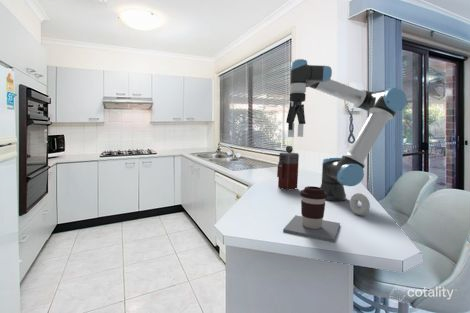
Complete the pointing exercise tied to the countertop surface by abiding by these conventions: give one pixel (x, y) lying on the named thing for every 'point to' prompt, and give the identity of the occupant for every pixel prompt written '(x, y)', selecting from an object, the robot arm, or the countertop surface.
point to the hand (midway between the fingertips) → (295, 136)
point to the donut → (364, 202)
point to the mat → (323, 233)
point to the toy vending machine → (288, 169)
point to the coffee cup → (312, 206)
